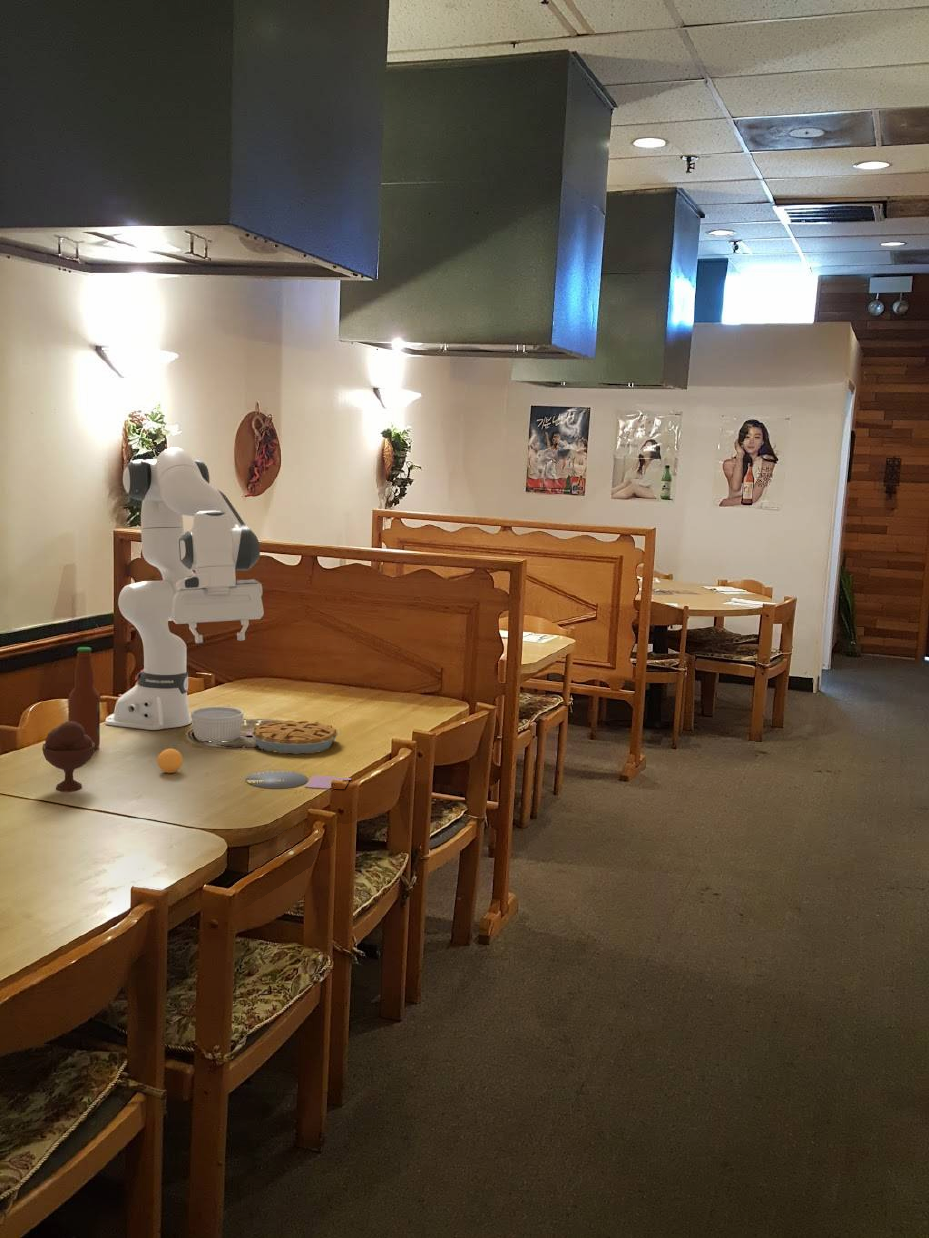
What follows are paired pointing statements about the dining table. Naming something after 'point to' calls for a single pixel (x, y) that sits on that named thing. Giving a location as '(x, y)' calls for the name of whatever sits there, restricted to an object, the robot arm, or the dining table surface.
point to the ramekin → (217, 723)
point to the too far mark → (322, 782)
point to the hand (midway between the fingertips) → (220, 641)
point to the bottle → (85, 698)
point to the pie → (294, 736)
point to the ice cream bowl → (68, 752)
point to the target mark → (289, 779)
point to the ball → (170, 760)
